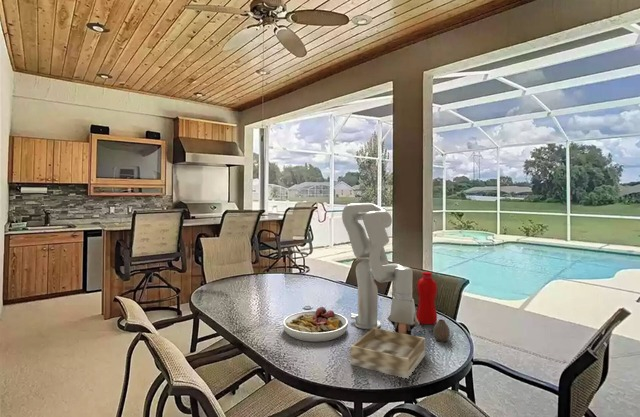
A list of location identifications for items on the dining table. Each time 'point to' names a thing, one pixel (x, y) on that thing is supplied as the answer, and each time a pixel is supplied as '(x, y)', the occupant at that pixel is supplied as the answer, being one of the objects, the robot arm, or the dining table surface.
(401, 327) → the peg
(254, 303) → the dining table surface
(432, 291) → the water bottle
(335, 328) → the bowl
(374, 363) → the insert box
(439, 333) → the vase
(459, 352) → the dining table surface
